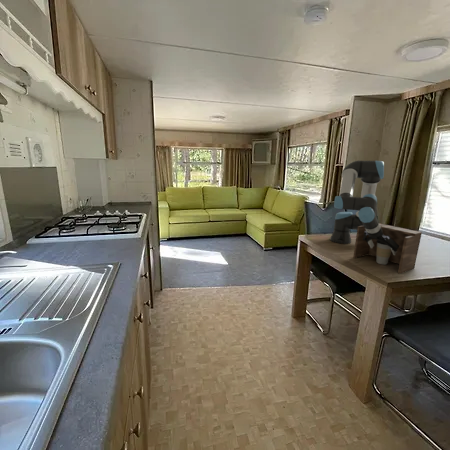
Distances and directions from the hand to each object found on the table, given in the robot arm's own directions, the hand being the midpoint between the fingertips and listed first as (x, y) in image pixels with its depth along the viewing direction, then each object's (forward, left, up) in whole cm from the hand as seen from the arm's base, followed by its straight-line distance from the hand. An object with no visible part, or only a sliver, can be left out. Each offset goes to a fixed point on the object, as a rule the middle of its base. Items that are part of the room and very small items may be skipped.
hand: (383, 250), depth 154 cm
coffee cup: (-1, +1, -9) cm, 9 cm away
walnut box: (-1, +1, -9) cm, 9 cm away
